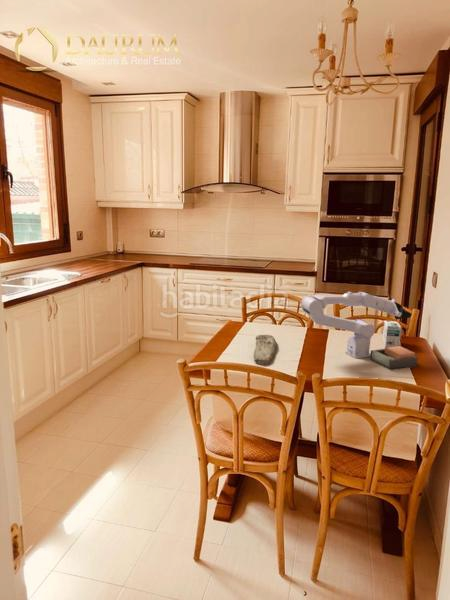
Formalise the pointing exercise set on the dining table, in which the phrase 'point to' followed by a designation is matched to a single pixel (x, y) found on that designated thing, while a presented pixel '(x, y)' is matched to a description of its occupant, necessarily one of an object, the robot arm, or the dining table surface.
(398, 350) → the slab
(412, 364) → the roller bed
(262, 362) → the elongated rock
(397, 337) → the light bulb box
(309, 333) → the dining table surface
